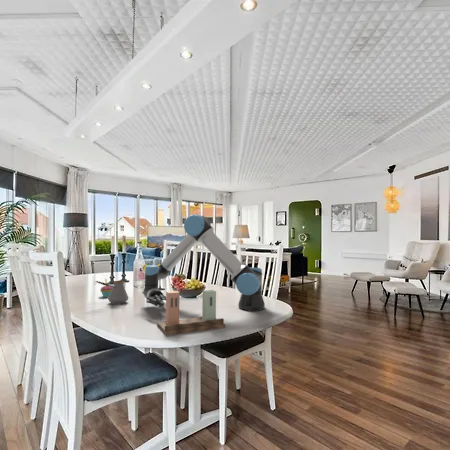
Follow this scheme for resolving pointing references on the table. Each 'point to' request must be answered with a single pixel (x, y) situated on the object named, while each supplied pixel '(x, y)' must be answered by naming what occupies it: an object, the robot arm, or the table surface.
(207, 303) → the pale green block
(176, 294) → the salmon orange rectangular block
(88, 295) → the table surface
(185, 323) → the wooden board
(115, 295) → the coffee pot
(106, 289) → the cupcake
